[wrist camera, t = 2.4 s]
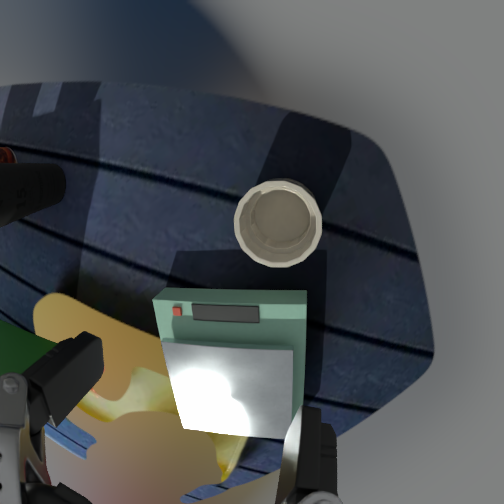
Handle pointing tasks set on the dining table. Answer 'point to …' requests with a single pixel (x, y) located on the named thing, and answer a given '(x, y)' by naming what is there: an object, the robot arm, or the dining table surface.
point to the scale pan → (232, 386)
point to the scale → (238, 321)
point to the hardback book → (20, 348)
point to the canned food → (7, 155)
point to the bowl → (278, 222)
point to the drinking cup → (28, 189)
